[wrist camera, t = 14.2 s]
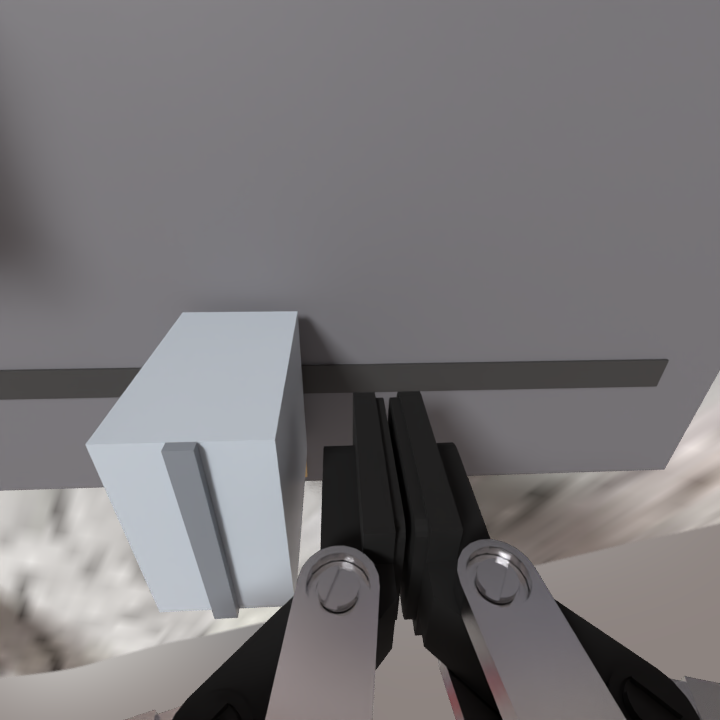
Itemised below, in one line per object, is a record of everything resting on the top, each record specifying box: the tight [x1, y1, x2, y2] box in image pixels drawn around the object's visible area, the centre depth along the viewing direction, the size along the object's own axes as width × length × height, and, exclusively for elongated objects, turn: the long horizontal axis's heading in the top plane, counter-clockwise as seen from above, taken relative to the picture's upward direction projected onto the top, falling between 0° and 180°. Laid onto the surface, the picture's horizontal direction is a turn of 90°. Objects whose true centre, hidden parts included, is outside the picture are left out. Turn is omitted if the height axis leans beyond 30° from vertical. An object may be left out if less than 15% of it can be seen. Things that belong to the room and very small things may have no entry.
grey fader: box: [85, 311, 307, 619], centre depth 10 cm, size 5×3×5 cm, turn 179°
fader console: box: [0, 0, 720, 491], centre depth 11 cm, size 19×28×3 cm
